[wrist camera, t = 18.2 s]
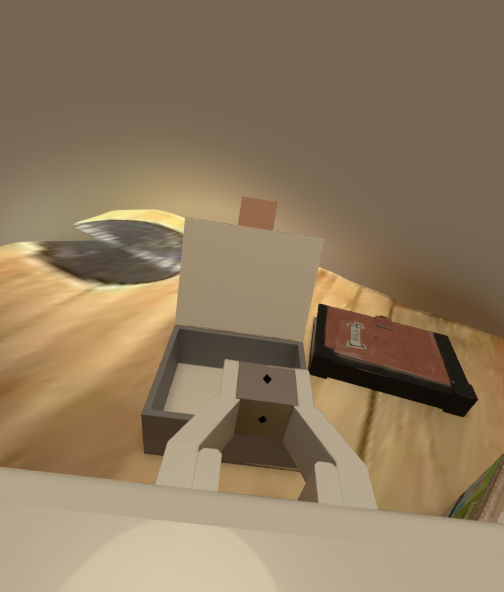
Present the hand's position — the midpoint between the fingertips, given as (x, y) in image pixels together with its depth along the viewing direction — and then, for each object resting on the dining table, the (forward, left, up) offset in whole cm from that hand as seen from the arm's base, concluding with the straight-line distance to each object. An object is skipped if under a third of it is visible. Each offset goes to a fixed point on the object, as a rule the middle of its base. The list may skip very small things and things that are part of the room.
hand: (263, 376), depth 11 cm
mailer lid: (-14, +30, -14) cm, 36 cm away
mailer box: (-9, +20, -32) cm, 39 cm away
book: (+9, +45, -33) cm, 57 cm away
